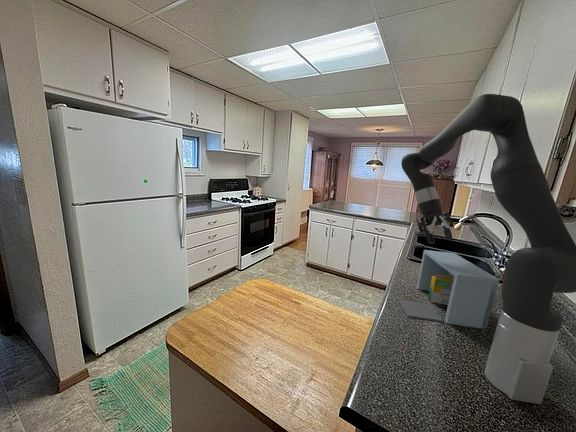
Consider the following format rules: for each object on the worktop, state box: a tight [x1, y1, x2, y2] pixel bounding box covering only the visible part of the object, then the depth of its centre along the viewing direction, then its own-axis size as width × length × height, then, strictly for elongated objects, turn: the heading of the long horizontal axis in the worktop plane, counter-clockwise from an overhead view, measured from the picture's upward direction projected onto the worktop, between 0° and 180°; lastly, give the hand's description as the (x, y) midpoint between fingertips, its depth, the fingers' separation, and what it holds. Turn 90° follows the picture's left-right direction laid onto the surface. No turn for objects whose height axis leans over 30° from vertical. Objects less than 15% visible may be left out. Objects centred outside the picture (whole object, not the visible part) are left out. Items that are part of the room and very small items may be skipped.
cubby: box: [416, 249, 500, 330], centre depth 88 cm, size 25×12×17 cm, turn 172°
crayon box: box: [427, 274, 454, 306], centre depth 91 cm, size 7×3×12 cm, turn 80°
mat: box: [397, 299, 443, 323], centre depth 84 cm, size 10×11×1 cm
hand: (441, 241), depth 90 cm, fingers open, 8 cm apart
